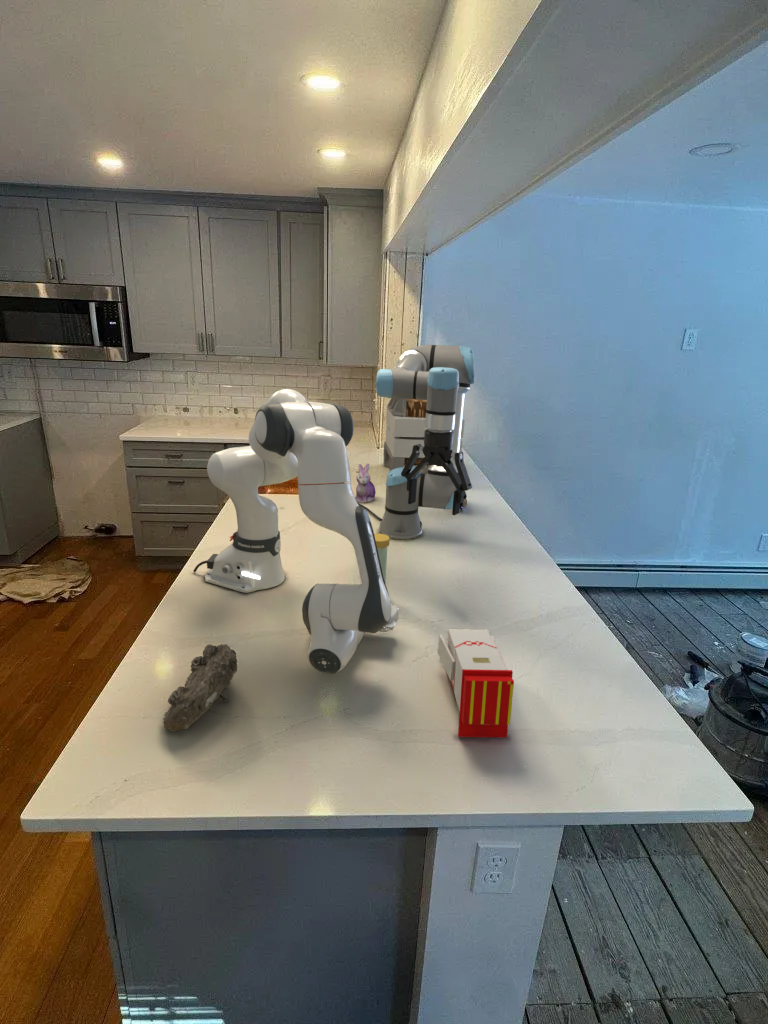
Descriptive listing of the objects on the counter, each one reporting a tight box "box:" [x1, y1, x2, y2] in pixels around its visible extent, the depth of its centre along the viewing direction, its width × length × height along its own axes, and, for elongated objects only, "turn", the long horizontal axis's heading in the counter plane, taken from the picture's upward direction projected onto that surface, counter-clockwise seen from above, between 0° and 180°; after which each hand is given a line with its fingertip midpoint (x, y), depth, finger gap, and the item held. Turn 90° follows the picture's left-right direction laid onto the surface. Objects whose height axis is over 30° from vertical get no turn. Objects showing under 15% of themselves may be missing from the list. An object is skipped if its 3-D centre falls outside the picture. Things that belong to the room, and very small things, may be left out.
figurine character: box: [460, 491, 468, 512], centre depth 228 cm, size 7×8×15 cm
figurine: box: [354, 463, 377, 503], centre depth 231 cm, size 9×10×15 cm
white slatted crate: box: [383, 398, 465, 472], centre depth 268 cm, size 34×33×41 cm
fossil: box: [162, 643, 238, 732], centre depth 111 cm, size 22×10×15 cm
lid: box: [374, 533, 390, 548], centre depth 150 cm, size 6×6×2 cm
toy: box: [437, 628, 515, 738], centre depth 117 cm, size 12×13×30 cm
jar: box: [377, 547, 388, 584], centre depth 152 cm, size 5×5×17 cm
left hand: (365, 596), depth 143 cm, fingers open, 8 cm apart
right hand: (433, 508), depth 152 cm, fingers open, 13 cm apart
